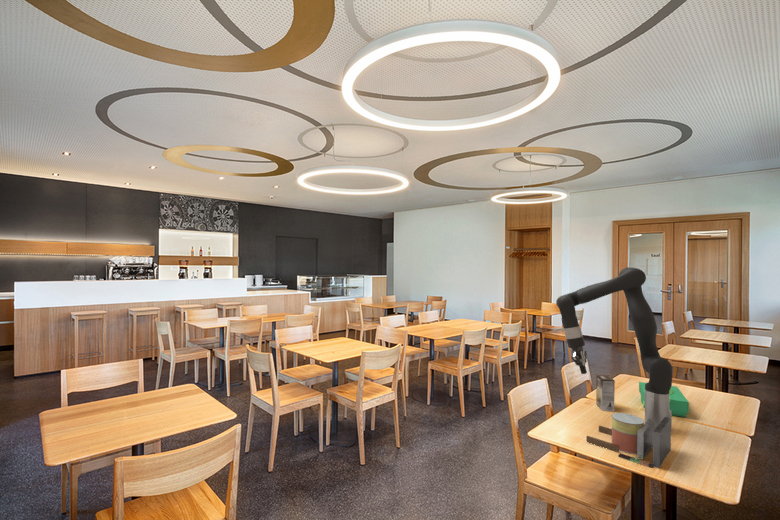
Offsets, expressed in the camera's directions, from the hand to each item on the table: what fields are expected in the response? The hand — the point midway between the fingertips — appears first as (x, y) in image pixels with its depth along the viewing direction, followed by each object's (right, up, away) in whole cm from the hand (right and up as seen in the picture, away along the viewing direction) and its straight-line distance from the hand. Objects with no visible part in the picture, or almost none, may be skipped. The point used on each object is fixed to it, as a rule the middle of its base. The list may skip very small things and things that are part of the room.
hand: (584, 373), depth 180 cm
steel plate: (+10, -23, -28) cm, 37 cm away
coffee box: (+22, -25, +21) cm, 39 cm away
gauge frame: (+6, -24, -23) cm, 33 cm away
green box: (+52, -25, +20) cm, 61 cm away
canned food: (+6, -24, -22) cm, 33 cm away
